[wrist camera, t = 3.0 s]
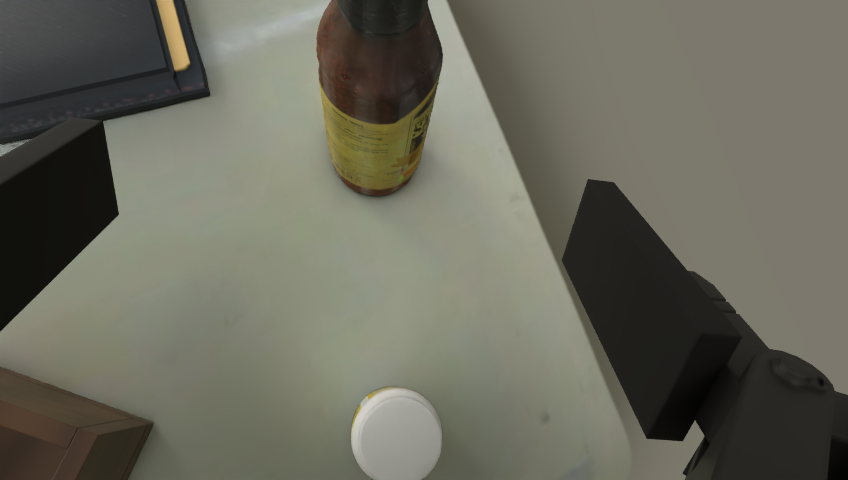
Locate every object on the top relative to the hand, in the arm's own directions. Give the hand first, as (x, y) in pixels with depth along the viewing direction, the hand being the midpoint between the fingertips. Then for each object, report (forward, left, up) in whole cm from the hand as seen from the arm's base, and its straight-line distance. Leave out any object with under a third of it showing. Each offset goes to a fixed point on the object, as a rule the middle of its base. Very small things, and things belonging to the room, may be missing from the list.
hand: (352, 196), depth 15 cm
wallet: (+27, -13, -21) cm, 36 cm away
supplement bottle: (-5, +7, -21) cm, 22 cm away
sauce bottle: (+3, -10, -21) cm, 23 cm away
